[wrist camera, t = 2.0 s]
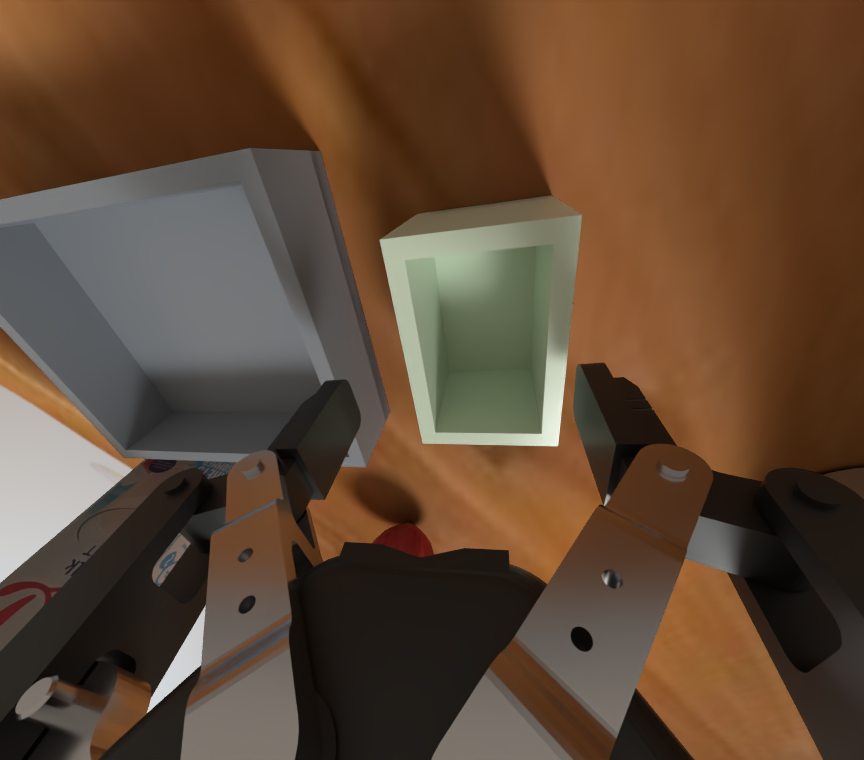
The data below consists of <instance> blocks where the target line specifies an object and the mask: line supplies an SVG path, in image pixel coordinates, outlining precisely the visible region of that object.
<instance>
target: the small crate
mask: <svg viewBox="0 0 864 760" xmlns="http://www.w3.org/2000/svg"><path fill="white" fill-rule="evenodd" d="M581 221H582V214H580V213H579V212H577V211H576V210H574V209H573V208H571V207H570V206H568V205H566V204H565V203H563V202H562V201H560V200H559V199H557V198H556V197H554V196H553V195H550V196H543V197H535V198H528V199H521V200H514V201H506V202H499V203H492V204H484V205H477V206H470V207H463V208H455V209H448V210H441V211H434V212H426V213H419V214H416V215H415V216H413V217H412V218H411V219H409V220H408V221H406V222H405V223H403V224H402V225H400V226H399V227H397V228H396V229H394V230H393V231H391V232H390V233H389V234H387V235H386V236H384V237H383V238H381V239H380V244H381V249H382V253H383V258H384V263H385V268H386V272H387V277H388V282H389V286H390V291H391V296H392V301H393V305H394V310H395V315H396V319H397V324H398V329H399V334H400V338H401V343H402V348H403V352H404V357H405V362H406V367H407V371H408V376H409V381H410V385H411V390H412V395H413V400H414V404H415V409H416V414H417V418H418V423H419V428H420V433H421V437H422V442H423V443H428V444H477V445H525V446H558V441H559V431H560V421H561V412H562V402H563V393H564V383H565V374H566V364H567V354H568V345H569V335H570V326H571V316H572V307H573V297H574V288H575V278H576V268H577V259H578V249H579V240H580V230H581Z"/></svg>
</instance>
